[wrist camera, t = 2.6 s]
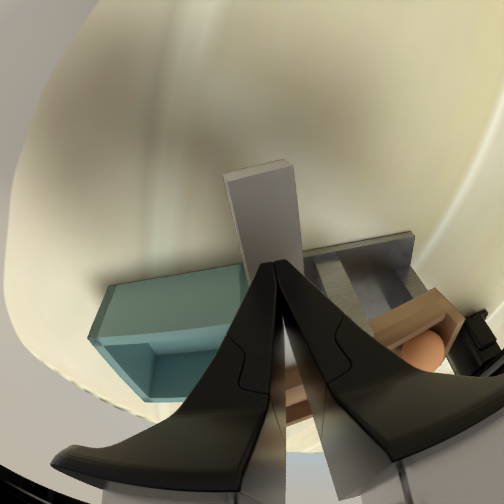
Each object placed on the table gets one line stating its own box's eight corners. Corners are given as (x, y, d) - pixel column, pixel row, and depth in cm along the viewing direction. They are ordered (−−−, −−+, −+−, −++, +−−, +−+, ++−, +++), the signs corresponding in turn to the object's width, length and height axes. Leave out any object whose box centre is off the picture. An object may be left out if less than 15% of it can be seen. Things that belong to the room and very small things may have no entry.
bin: (268, 342, 24) (275, 393, 19) (153, 355, 24) (145, 402, 20) (250, 262, 19) (256, 319, 15) (108, 286, 19) (87, 338, 15)
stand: (394, 315, 23) (426, 380, 17) (277, 341, 24) (288, 417, 18) (411, 231, 18) (466, 300, 12) (261, 259, 19) (274, 350, 13)
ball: (414, 340, 17) (444, 364, 15) (387, 365, 16) (417, 392, 14) (425, 312, 16) (458, 337, 13) (397, 338, 15) (432, 368, 12)
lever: (416, 338, 19) (439, 367, 16) (243, 412, 17) (256, 453, 15) (461, 131, 10) (512, 153, 8) (147, 195, 8) (139, 247, 6)
